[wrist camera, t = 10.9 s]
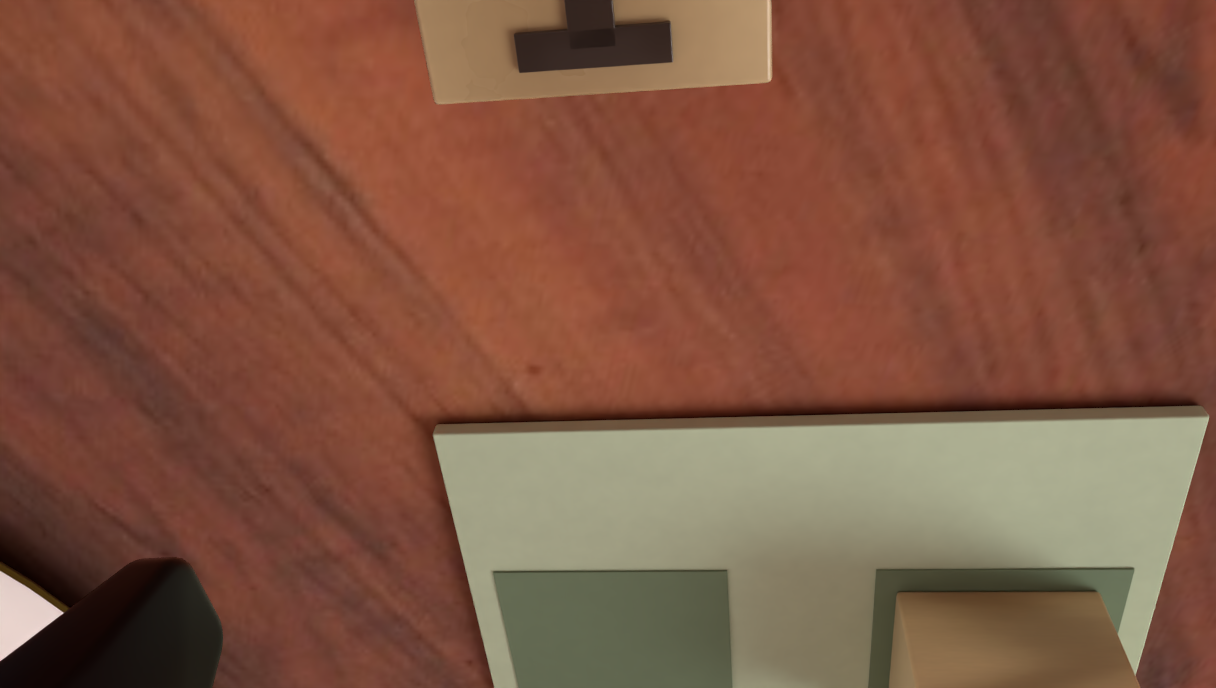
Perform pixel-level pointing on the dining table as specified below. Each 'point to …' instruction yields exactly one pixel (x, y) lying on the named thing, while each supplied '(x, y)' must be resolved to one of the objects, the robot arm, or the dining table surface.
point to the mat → (797, 534)
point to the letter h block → (1006, 641)
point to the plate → (23, 609)
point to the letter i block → (590, 46)
